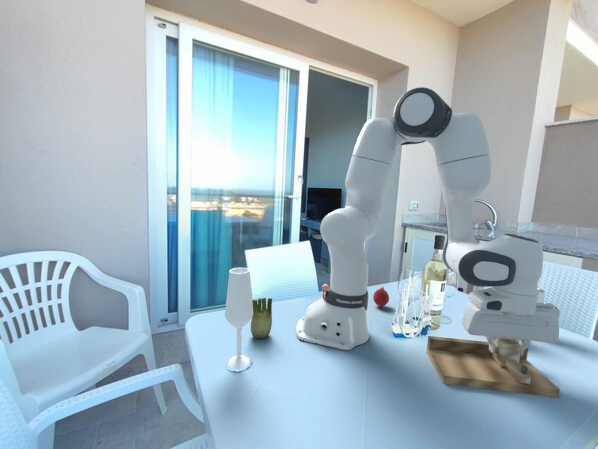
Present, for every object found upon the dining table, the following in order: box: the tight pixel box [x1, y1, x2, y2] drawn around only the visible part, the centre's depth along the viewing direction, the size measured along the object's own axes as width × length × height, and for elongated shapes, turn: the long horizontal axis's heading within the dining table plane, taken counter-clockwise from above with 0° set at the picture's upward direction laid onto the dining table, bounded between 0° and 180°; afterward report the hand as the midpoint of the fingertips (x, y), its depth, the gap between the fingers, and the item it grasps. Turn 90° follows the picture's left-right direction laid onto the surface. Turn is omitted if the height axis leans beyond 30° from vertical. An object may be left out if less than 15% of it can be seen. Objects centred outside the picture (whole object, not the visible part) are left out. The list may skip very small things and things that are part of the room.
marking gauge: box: [491, 337, 531, 384], centre depth 64 cm, size 4×10×6 cm, turn 172°
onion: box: [372, 286, 390, 308], centre depth 102 cm, size 6×6×8 cm
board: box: [426, 335, 561, 399], centre depth 66 cm, size 24×12×5 cm, turn 82°
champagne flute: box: [224, 267, 253, 369], centre depth 65 cm, size 7×7×24 cm
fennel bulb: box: [250, 297, 273, 339], centre depth 78 cm, size 6×5×12 cm
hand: (505, 352), depth 67 cm, fingers closed on marking gauge, 4 cm apart
